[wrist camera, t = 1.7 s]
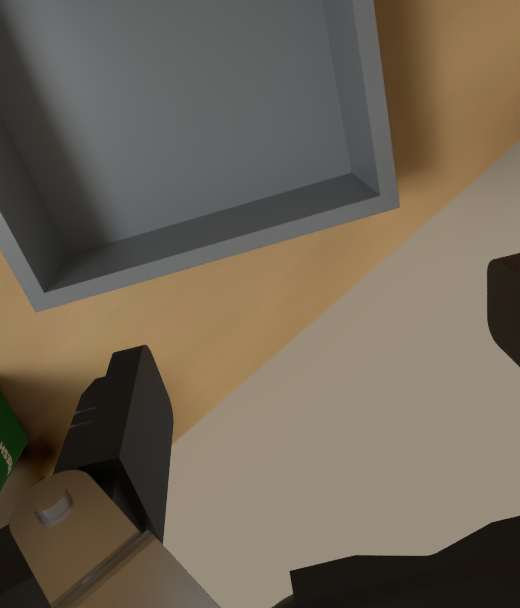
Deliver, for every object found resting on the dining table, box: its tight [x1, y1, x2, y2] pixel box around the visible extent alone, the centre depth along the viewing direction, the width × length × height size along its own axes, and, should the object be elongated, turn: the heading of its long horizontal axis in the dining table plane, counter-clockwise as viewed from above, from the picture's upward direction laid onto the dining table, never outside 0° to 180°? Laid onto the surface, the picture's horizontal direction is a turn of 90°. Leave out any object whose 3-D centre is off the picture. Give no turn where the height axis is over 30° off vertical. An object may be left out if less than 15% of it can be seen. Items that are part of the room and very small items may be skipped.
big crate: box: [0, 0, 400, 312], centre depth 27 cm, size 18×22×7 cm
